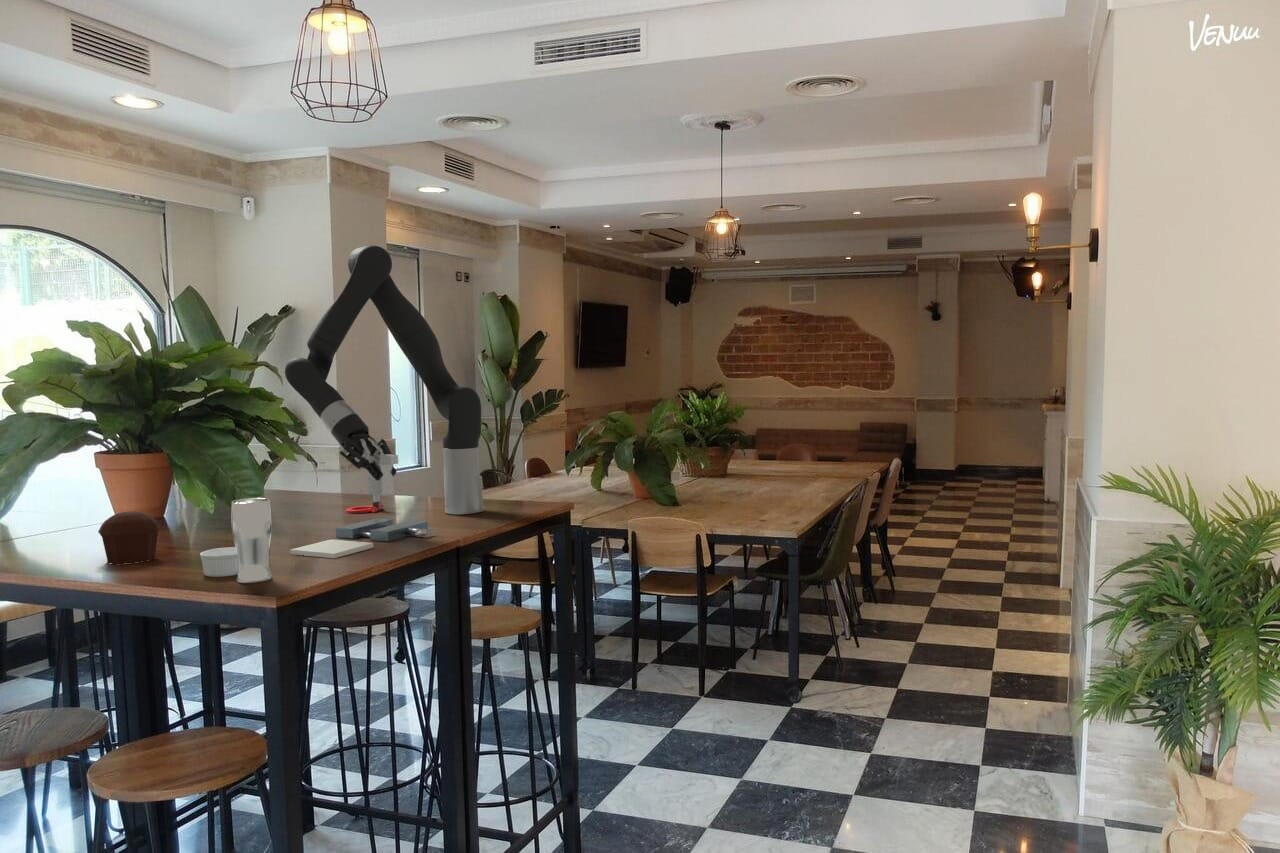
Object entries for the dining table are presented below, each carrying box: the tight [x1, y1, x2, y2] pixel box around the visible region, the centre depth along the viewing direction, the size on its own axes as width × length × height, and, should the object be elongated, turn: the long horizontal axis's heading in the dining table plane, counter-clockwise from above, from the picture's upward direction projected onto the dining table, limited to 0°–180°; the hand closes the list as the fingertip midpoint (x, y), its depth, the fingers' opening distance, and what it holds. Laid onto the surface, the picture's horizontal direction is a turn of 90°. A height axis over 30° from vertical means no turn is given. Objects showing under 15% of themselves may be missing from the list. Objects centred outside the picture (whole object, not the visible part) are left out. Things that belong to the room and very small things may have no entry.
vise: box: [335, 518, 435, 543], centre depth 224 cm, size 20×14×2 cm
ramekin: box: [199, 546, 238, 578], centre depth 187 cm, size 9×9×4 cm
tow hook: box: [345, 495, 384, 514], centre depth 260 cm, size 8×13×9 cm
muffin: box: [97, 510, 162, 565], centre depth 201 cm, size 12×11×10 cm
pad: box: [290, 539, 374, 559], centre depth 207 cm, size 12×12×1 cm
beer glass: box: [230, 497, 273, 584], centre depth 180 cm, size 7×7×15 cm
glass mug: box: [366, 453, 399, 496], centre depth 224 cm, size 6×4×9 cm, turn 64°
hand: (386, 476), depth 224 cm, fingers closed on glass mug, 4 cm apart
